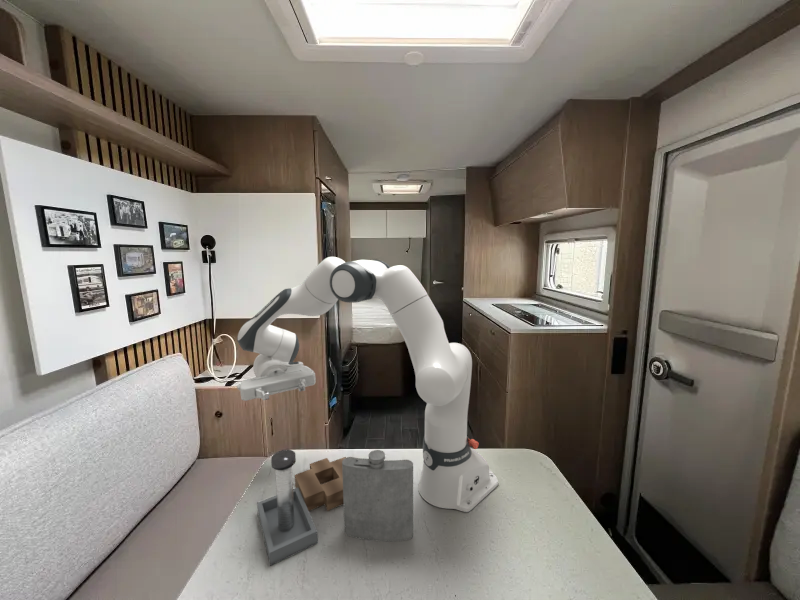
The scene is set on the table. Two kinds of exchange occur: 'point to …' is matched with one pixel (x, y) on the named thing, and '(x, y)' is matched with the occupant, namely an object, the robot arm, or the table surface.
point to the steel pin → (284, 488)
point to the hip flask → (378, 498)
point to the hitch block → (326, 492)
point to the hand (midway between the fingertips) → (284, 392)
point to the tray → (289, 541)
